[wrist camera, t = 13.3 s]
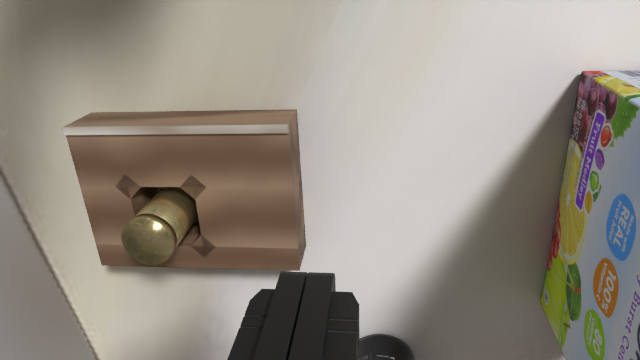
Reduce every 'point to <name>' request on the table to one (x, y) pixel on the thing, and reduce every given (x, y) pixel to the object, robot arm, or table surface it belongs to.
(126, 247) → the brass cylinder plug
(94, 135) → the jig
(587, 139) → the snack box
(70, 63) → the table surface
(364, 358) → the supplement bottle
